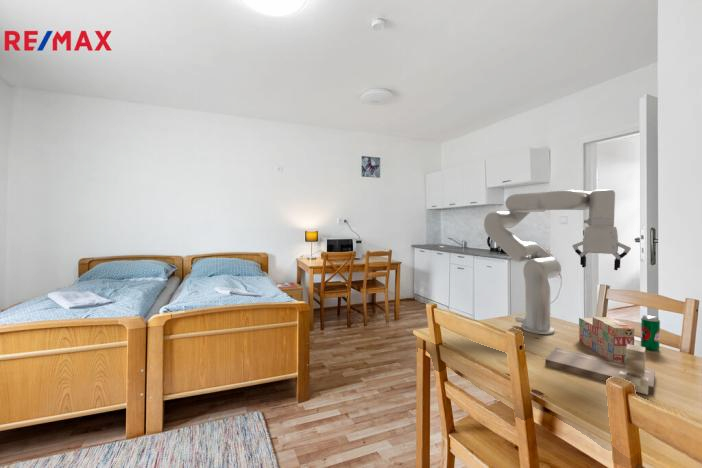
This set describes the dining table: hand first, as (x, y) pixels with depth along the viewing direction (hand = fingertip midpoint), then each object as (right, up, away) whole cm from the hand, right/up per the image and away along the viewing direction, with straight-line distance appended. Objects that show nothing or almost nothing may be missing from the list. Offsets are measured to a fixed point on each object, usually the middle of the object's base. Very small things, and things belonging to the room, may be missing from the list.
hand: (599, 268), depth 120 cm
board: (-15, -31, -18) cm, 39 cm away
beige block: (-10, -30, -27) cm, 42 cm away
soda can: (+18, -30, -1) cm, 35 cm away
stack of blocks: (-1, -30, -3) cm, 31 cm away
